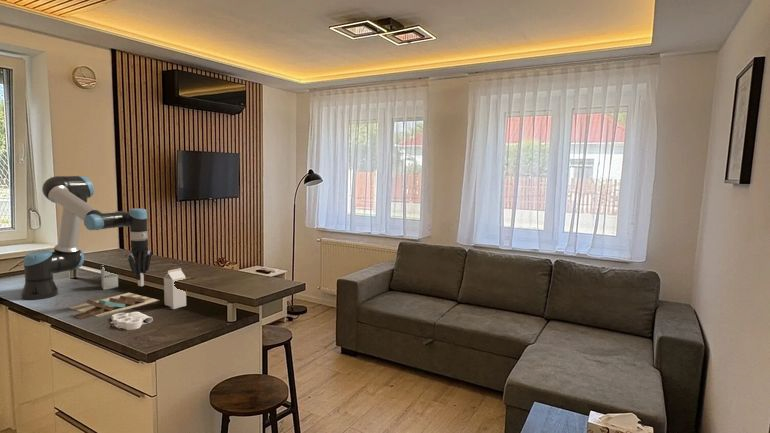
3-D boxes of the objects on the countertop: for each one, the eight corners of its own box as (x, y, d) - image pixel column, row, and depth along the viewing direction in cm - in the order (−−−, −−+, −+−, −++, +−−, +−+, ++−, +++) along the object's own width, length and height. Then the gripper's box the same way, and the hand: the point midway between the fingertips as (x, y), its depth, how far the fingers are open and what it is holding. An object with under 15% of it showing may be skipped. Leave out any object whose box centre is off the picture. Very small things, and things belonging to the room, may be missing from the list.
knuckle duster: (156, 324, 196) (121, 333, 184) (137, 315, 207) (102, 324, 195) (156, 317, 196) (121, 326, 184) (136, 308, 206) (102, 316, 194)
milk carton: (186, 305, 221) (185, 269, 219) (173, 309, 215) (172, 271, 213) (177, 303, 225) (176, 267, 223) (164, 307, 219) (163, 269, 217)
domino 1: (103, 311, 204) (81, 322, 196) (97, 309, 206) (75, 320, 198) (102, 308, 204) (80, 318, 195) (96, 306, 206) (74, 316, 197)
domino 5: (144, 302, 222) (125, 300, 213) (138, 300, 224) (119, 298, 215) (145, 299, 222) (126, 297, 213) (138, 297, 224) (120, 295, 216)
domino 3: (124, 307, 213) (104, 304, 204) (118, 305, 215) (98, 303, 206) (125, 304, 213) (105, 301, 204) (119, 302, 215) (99, 299, 207)
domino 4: (134, 304, 217) (115, 302, 208) (128, 303, 219) (108, 301, 211) (135, 301, 217) (116, 299, 209) (129, 300, 220) (110, 297, 211)
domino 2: (111, 311, 207) (92, 304, 199) (105, 309, 210) (85, 303, 202) (113, 307, 208) (94, 301, 200) (107, 306, 210) (87, 299, 202)
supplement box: (103, 290, 245) (102, 267, 244) (101, 287, 251) (100, 265, 249) (118, 288, 250) (117, 266, 248) (116, 285, 255) (115, 263, 254)
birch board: (67, 309, 211) (67, 307, 211) (128, 294, 237) (128, 292, 237) (99, 319, 199) (99, 317, 199) (160, 302, 226) (159, 300, 225)
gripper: (131, 242, 212) (133, 289, 215) (156, 238, 223) (157, 283, 226) (121, 240, 215) (123, 287, 218) (146, 237, 227) (148, 281, 229)
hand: (140, 285), depth 222 cm, fingers closed
